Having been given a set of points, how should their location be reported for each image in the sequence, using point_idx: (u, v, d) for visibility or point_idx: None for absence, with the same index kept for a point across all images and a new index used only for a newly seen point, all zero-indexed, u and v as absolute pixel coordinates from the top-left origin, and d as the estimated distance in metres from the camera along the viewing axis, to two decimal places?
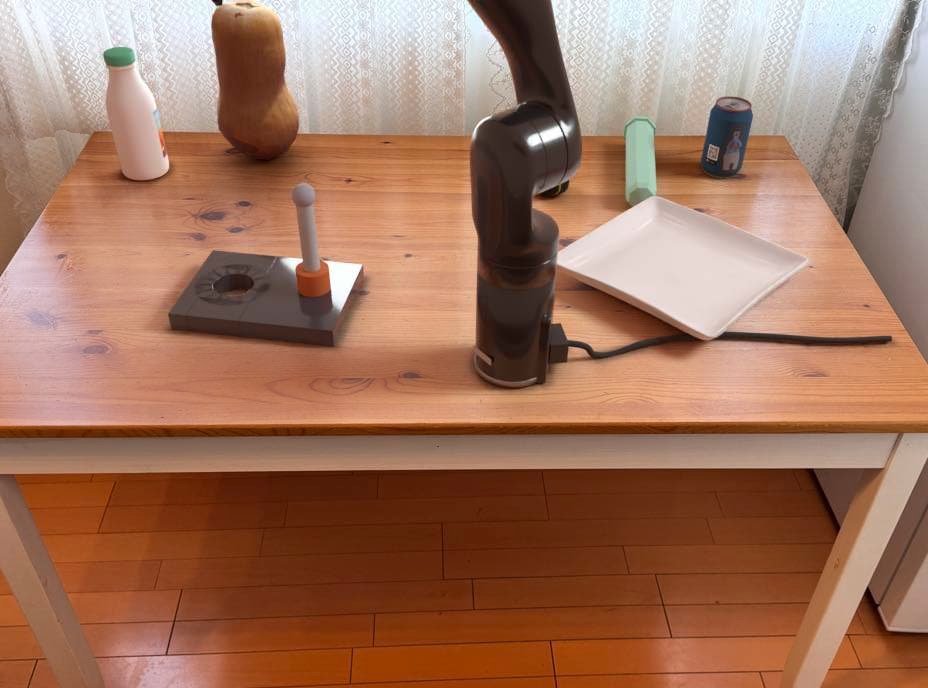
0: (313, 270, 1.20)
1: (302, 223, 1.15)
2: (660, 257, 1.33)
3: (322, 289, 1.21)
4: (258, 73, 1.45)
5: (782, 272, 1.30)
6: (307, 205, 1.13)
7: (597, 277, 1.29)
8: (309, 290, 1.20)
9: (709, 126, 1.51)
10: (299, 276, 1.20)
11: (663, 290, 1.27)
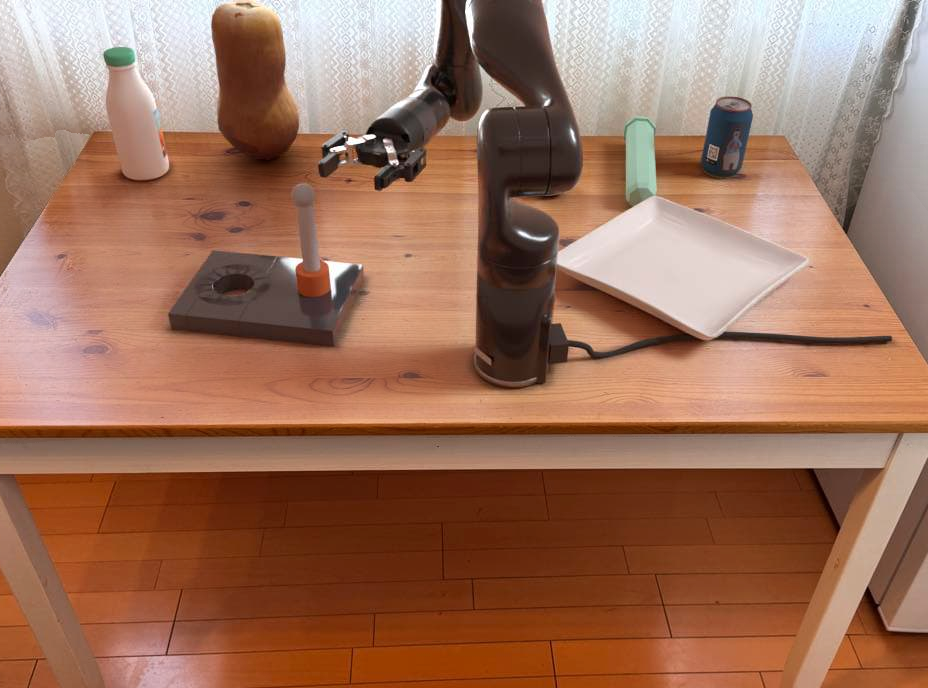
0: (313, 270, 1.20)
1: (302, 223, 1.15)
2: (660, 257, 1.33)
3: (322, 289, 1.21)
4: (258, 73, 1.45)
5: (782, 272, 1.30)
6: (307, 205, 1.13)
7: (597, 277, 1.29)
8: (309, 290, 1.20)
9: (709, 126, 1.51)
10: (299, 276, 1.20)
11: (663, 290, 1.27)
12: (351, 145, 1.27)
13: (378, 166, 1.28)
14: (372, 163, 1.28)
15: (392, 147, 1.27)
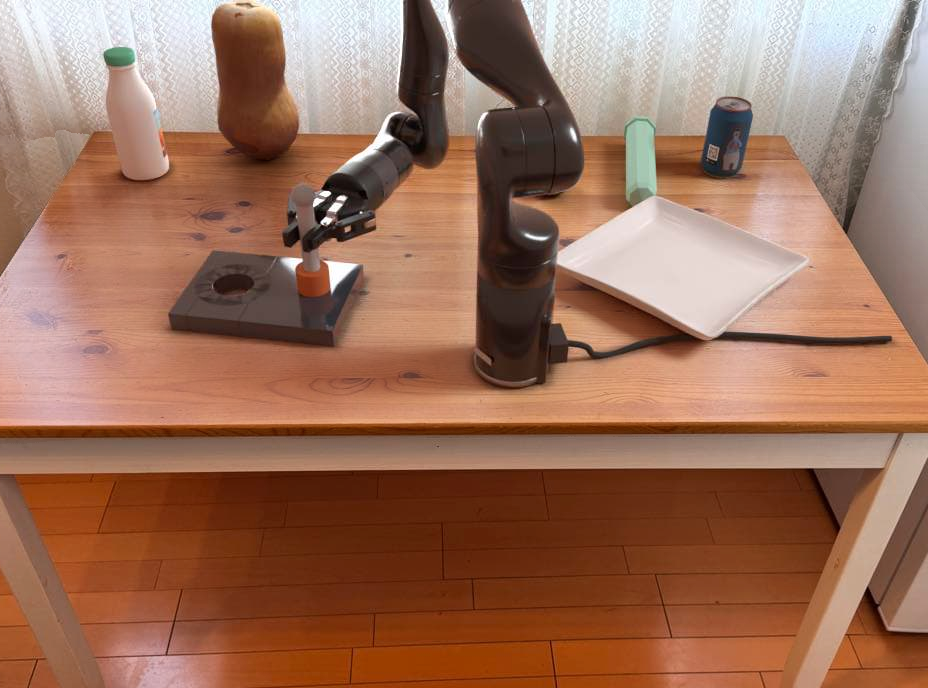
0: (313, 270, 1.20)
1: (302, 223, 1.15)
2: (660, 257, 1.33)
3: (322, 289, 1.21)
4: (258, 73, 1.45)
5: (782, 272, 1.30)
6: (307, 205, 1.13)
7: (597, 277, 1.29)
8: (309, 290, 1.20)
9: (709, 126, 1.51)
10: (299, 276, 1.20)
11: (663, 290, 1.27)
12: (314, 207, 1.19)
13: None
14: None
15: (339, 206, 1.19)
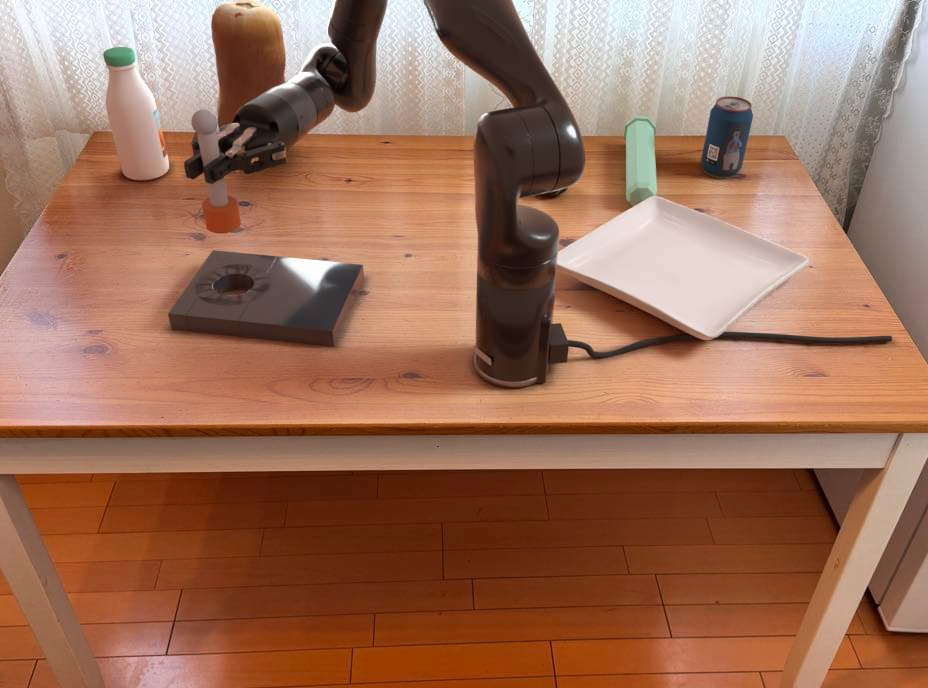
0: (220, 204, 1.14)
1: (204, 153, 1.10)
2: (660, 257, 1.33)
3: (230, 225, 1.16)
4: (258, 73, 1.45)
5: (782, 272, 1.30)
6: (208, 133, 1.08)
7: (597, 277, 1.29)
8: (216, 226, 1.15)
9: (709, 126, 1.51)
10: (205, 211, 1.14)
11: (663, 290, 1.27)
12: (220, 138, 1.14)
13: None
14: None
15: (247, 137, 1.14)
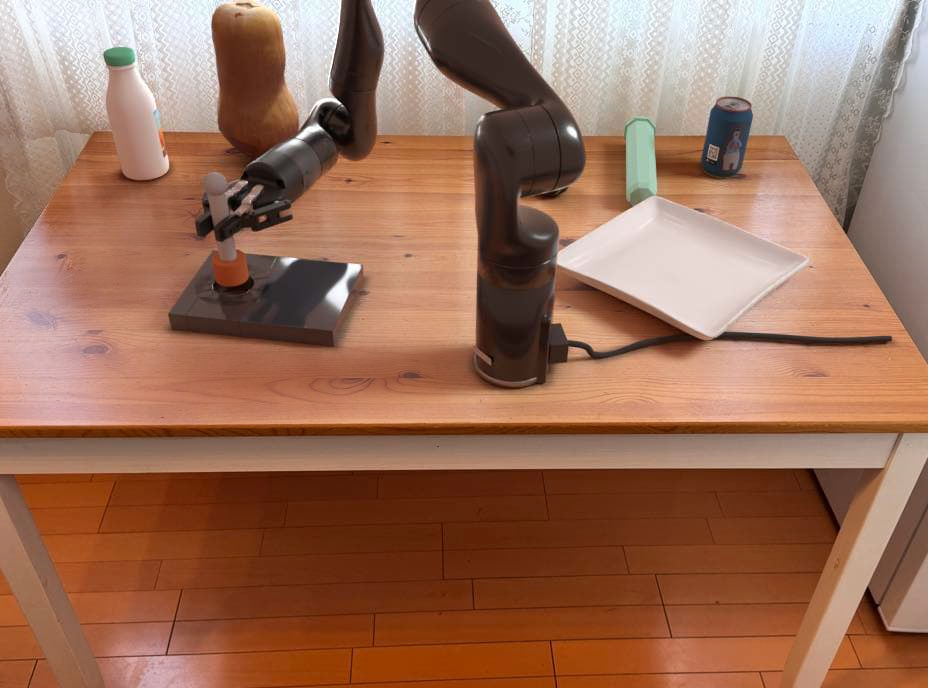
0: (229, 259, 1.20)
1: (214, 212, 1.15)
2: (660, 257, 1.33)
3: (238, 278, 1.21)
4: (258, 73, 1.45)
5: (782, 272, 1.30)
6: (218, 194, 1.13)
7: (597, 277, 1.29)
8: (225, 279, 1.20)
9: (709, 126, 1.51)
10: (215, 265, 1.19)
11: (663, 290, 1.27)
12: (229, 196, 1.19)
13: None
14: None
15: (255, 195, 1.19)
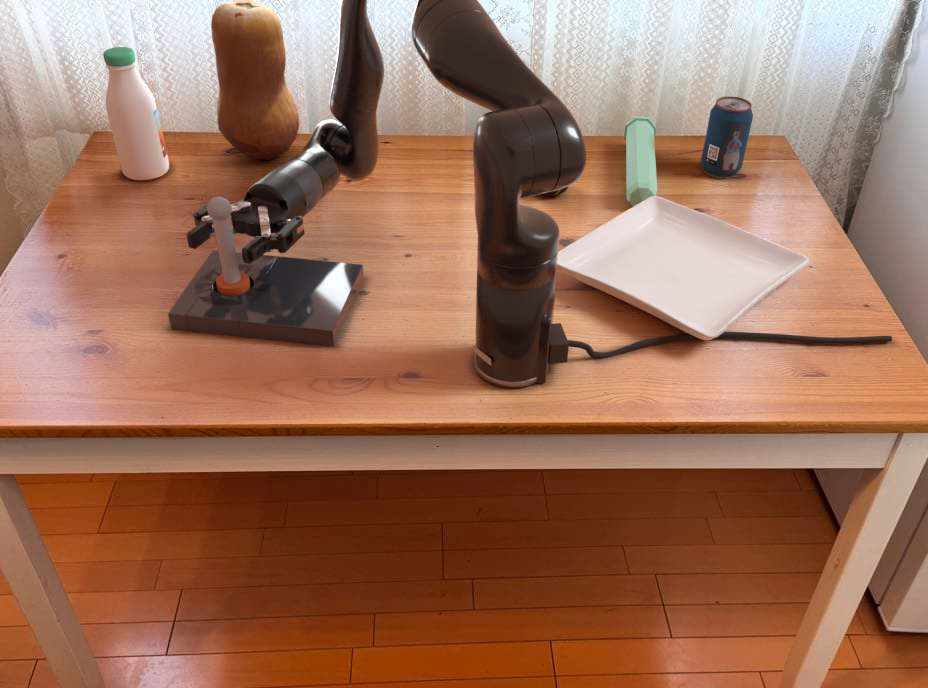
0: (233, 282, 1.22)
1: (219, 236, 1.17)
2: (660, 257, 1.33)
3: None
4: (258, 73, 1.45)
5: (782, 272, 1.30)
6: (222, 218, 1.16)
7: (597, 277, 1.29)
8: None
9: (709, 126, 1.51)
10: (219, 287, 1.22)
11: (663, 290, 1.27)
12: None
13: (253, 235, 1.22)
14: (247, 232, 1.22)
15: (266, 216, 1.21)
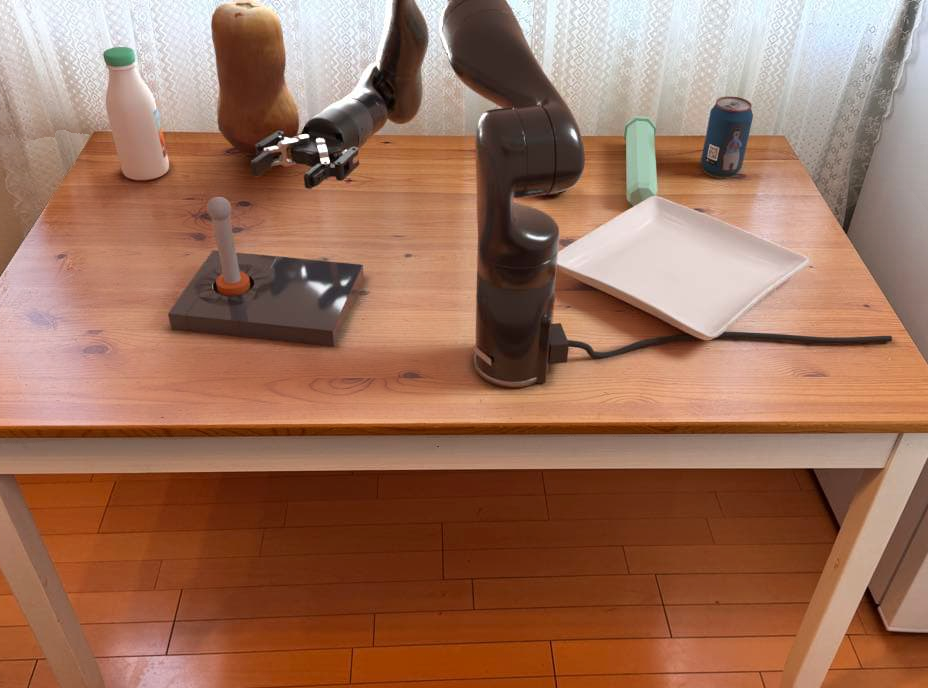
0: (233, 282, 1.22)
1: (219, 236, 1.17)
2: (660, 257, 1.33)
3: None
4: (258, 73, 1.45)
5: (782, 272, 1.30)
6: (222, 218, 1.16)
7: (597, 277, 1.29)
8: None
9: (709, 126, 1.51)
10: (219, 287, 1.22)
11: (663, 290, 1.27)
12: (284, 144, 1.29)
13: (311, 165, 1.30)
14: (305, 162, 1.30)
15: (324, 146, 1.29)
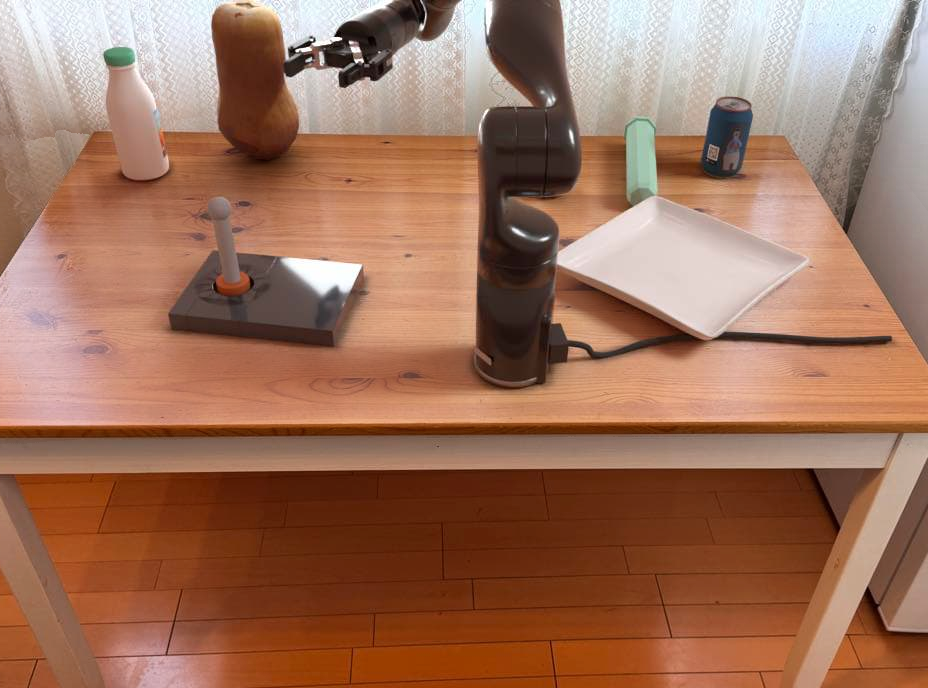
0: (233, 282, 1.22)
1: (219, 236, 1.17)
2: (660, 257, 1.33)
3: None
4: (258, 73, 1.45)
5: (782, 272, 1.30)
6: (222, 218, 1.16)
7: (597, 277, 1.29)
8: None
9: (709, 126, 1.51)
10: (219, 287, 1.22)
11: (663, 290, 1.27)
12: (316, 46, 1.27)
13: (344, 67, 1.28)
14: (338, 65, 1.28)
15: (358, 48, 1.27)
